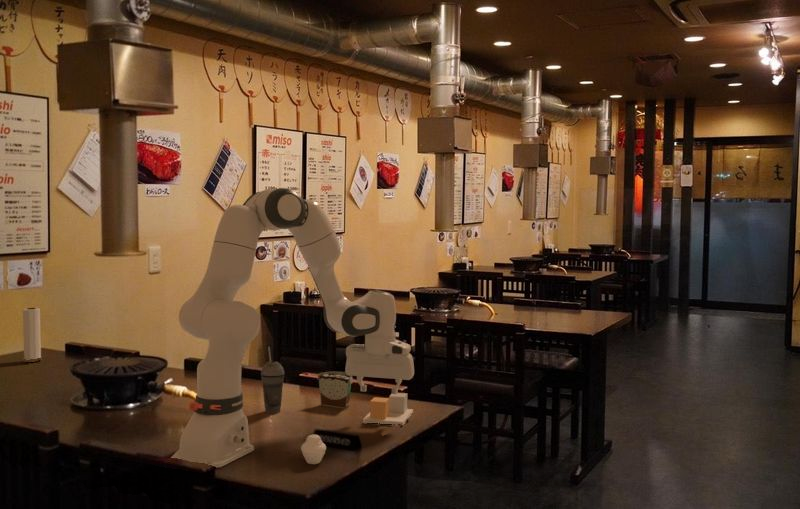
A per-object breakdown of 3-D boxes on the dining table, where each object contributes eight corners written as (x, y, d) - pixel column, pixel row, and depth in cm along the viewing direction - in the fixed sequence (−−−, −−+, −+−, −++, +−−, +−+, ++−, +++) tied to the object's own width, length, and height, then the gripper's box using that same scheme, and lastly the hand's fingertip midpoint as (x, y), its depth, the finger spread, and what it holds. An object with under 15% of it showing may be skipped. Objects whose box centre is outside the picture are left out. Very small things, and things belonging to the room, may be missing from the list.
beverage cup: (279, 415, 227) (279, 349, 225) (256, 414, 228) (256, 348, 227) (288, 409, 234) (288, 345, 232) (266, 407, 235) (265, 344, 234)
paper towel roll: (32, 359, 304) (31, 307, 303) (44, 360, 302) (43, 307, 301) (18, 363, 297) (17, 309, 296) (30, 364, 296) (29, 310, 294)
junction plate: (403, 426, 217) (403, 404, 217) (363, 423, 220) (363, 402, 219) (413, 413, 231) (413, 393, 230) (375, 410, 233) (375, 390, 233)
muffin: (327, 458, 189) (327, 430, 189) (324, 466, 183) (324, 438, 182) (303, 457, 189) (303, 430, 189) (298, 466, 183) (298, 437, 183)
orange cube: (389, 414, 224) (389, 398, 224) (385, 419, 220) (385, 402, 219) (374, 413, 225) (374, 397, 225) (370, 417, 221) (370, 401, 220)
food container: (360, 404, 240) (360, 373, 239) (350, 409, 234) (350, 377, 234) (327, 400, 245) (327, 369, 245) (317, 404, 240) (317, 373, 239)
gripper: (342, 345, 220) (341, 392, 221) (411, 349, 215) (410, 397, 216) (349, 341, 226) (348, 387, 227) (416, 346, 222) (414, 392, 222)
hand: (378, 392), depth 221 cm, fingers open, 8 cm apart
